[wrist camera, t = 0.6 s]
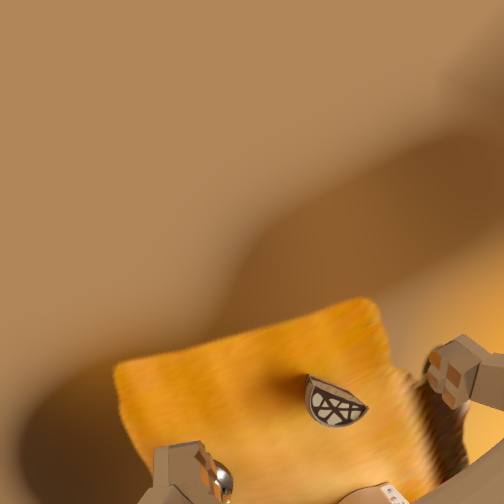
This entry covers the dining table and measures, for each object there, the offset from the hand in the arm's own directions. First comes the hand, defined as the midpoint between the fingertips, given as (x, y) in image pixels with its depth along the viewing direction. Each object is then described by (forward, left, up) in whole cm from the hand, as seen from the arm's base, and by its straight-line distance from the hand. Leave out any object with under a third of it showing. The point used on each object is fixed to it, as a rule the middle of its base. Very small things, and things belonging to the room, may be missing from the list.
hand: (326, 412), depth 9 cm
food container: (-20, +6, -50) cm, 55 cm away
